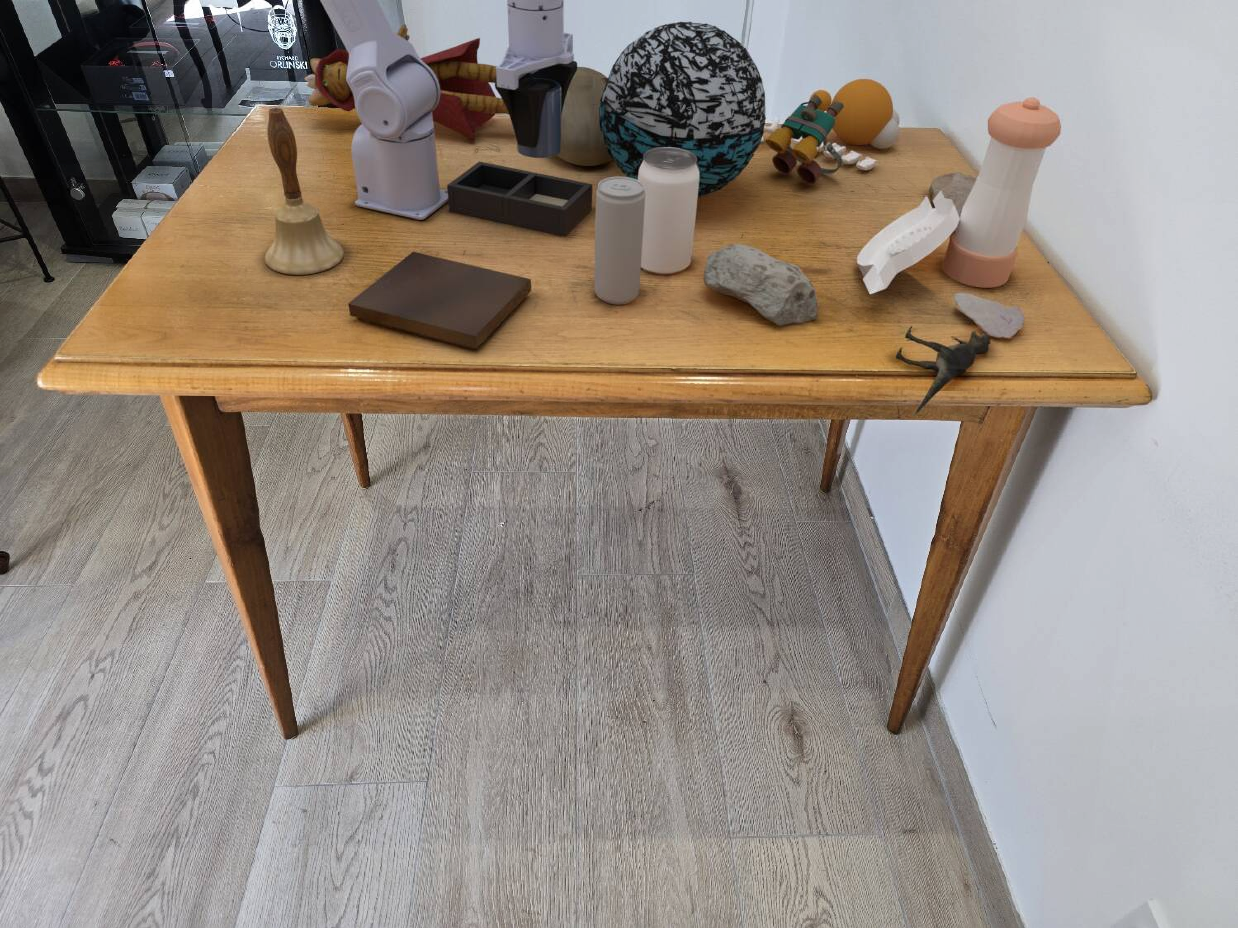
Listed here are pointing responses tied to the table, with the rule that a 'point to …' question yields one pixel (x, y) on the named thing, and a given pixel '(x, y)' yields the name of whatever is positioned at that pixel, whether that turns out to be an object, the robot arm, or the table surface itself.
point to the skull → (583, 120)
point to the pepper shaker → (1001, 194)
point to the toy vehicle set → (846, 156)
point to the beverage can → (618, 239)
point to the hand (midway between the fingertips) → (538, 137)
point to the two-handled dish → (906, 241)
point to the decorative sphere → (685, 101)
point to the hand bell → (296, 213)
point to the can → (668, 209)
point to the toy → (863, 114)
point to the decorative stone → (762, 283)
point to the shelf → (441, 299)
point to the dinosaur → (948, 360)
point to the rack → (520, 198)
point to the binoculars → (805, 140)
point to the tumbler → (547, 124)
